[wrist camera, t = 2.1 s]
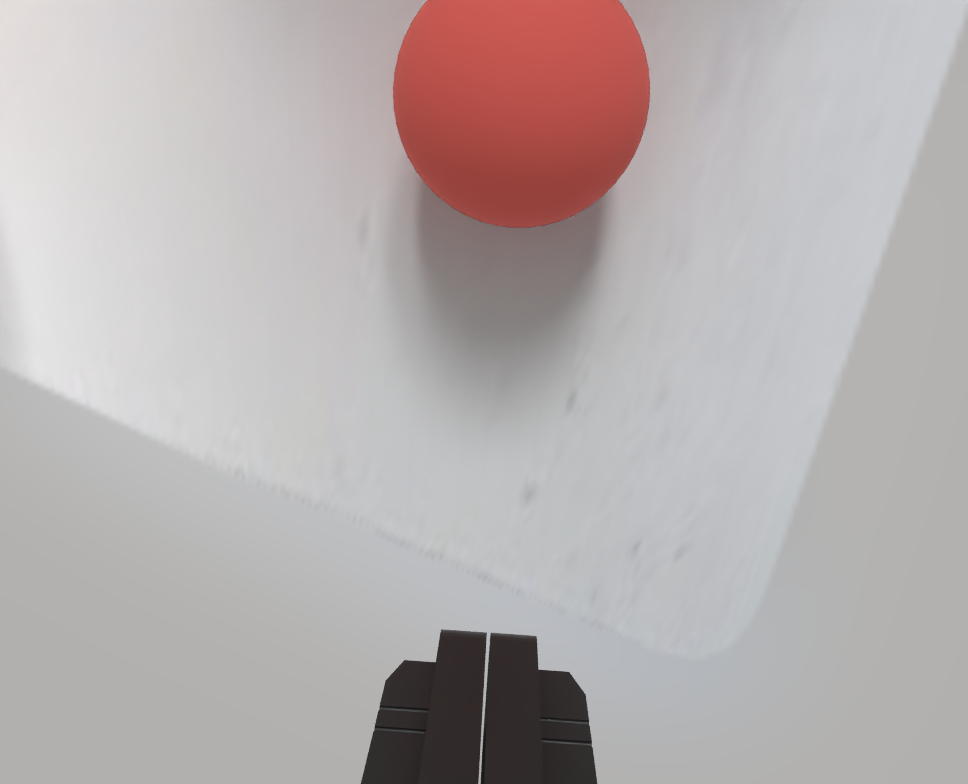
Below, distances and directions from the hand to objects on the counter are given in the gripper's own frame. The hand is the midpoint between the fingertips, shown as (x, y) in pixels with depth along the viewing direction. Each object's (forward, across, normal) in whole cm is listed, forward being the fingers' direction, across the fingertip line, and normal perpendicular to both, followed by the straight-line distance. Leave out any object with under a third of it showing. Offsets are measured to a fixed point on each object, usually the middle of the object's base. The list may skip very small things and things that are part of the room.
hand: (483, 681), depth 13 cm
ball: (+10, 0, -9) cm, 13 cm away
